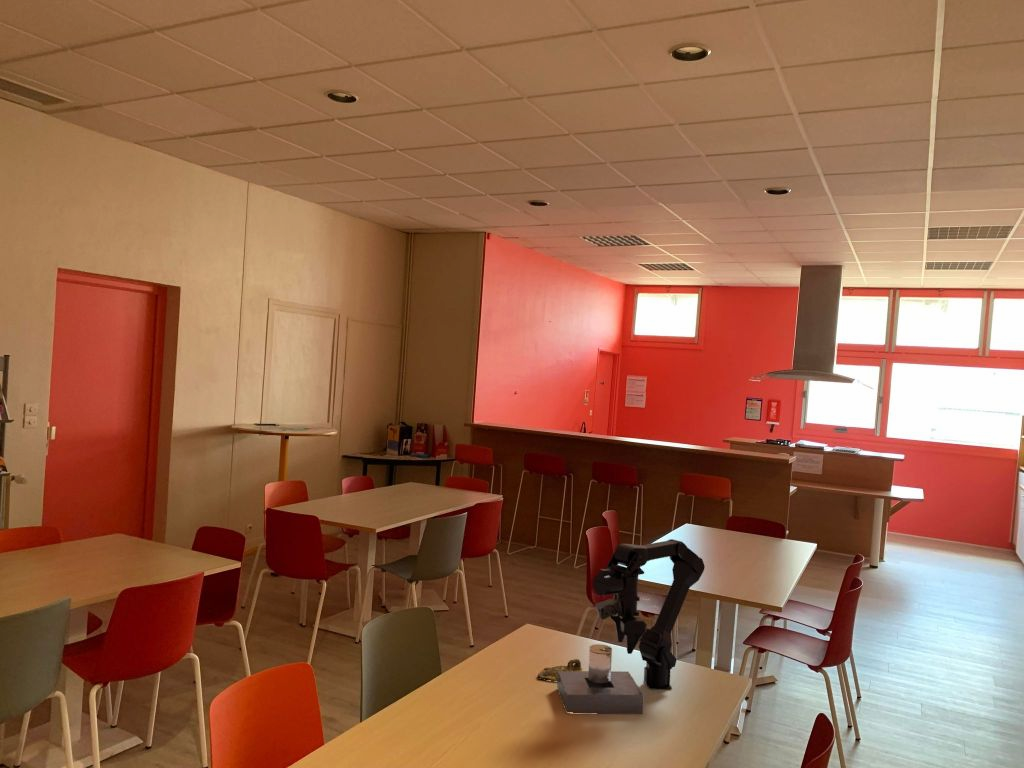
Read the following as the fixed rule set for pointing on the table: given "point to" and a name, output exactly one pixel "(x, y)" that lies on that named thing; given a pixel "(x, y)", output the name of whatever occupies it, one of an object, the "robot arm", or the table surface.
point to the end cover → (600, 663)
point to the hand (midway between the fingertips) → (624, 647)
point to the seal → (553, 672)
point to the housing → (600, 693)
